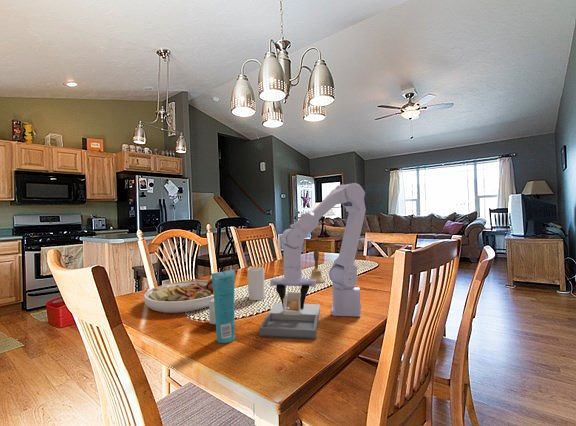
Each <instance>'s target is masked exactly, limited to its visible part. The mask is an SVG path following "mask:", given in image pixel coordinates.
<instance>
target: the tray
mask: <svg viewBox="0 0 576 426" xmlns="http://www.w3.org/2000/svg"><path fill="white" fill-rule="evenodd" d="M318 327H319V322H318V315H316V316H315V321H303V320H279V319H271V313H269V312H268V313H267V315H266V316H265V318H264V320H263V321H262V322H261V324H260V326H259V327H258V330H259V331H258V334H259V337H261V338H278V339H279V338H281V339H295V340H296V339H298V340H299V339H301V340H317V334H318Z"/></svg>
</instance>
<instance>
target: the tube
mask: <svg viewBox="0 0 576 426" xmlns="http://www.w3.org/2000/svg"><path fill="white" fill-rule="evenodd" d="M210 276H211V278H212V284H213V295H214V306H215V318H216V324H215V330H216V331H215V332H216V341H217V343H219V344H228V343H231V342H233V341H234V340H235V338H236V335H235V331H236V330H235V327H236V326H235V324H236V323H235V318H234V314H235V283H236V282H235V280H236V279H235V278H236V277H235V276H236V270H235V269H231V270H224V271H219V272H218V271H217V272H213V273H211V275H210Z"/></svg>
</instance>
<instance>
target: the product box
mask: <svg viewBox="0 0 576 426" xmlns="http://www.w3.org/2000/svg"><path fill="white" fill-rule="evenodd" d="M208 310H209V312H208V313H209V315H208V317H209V320H208V321H209V322H208V323H209V324H211V325H216V318H215V306H214V299H212V300H211V301H209V307H208ZM234 319H235V313H234Z"/></svg>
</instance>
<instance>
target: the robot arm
mask: <svg viewBox="0 0 576 426" xmlns="http://www.w3.org/2000/svg"><path fill="white" fill-rule="evenodd" d="M365 197H366V192H365V190H364V188H363V187H362V186H361V185H360V184H359V183H357V182H352V183H347V184H339V185H337V186H336V187H335V188H334V189H332V190H331V191H330V192H329V193H328V195H326V197H325V198H324V199H323V200H322V201H321V202H320V203H319V204H318V205H317V206H316V207H315V208H314V209H313V210H312V211H311V212H309V211H307V212H304V213H301V214H300V215H299V216H300V218H299V219H297V221H296V222H294V223H291V224H290V225H289V227H290V228H288V229H287V228H286V229H285V230H284V231H283V232H282V233H281V234H282V235H281V236H280V238H279V239H280V242H281V243H282V245H283V254H282V255H283V278H282V277H281V278H278V277H277V278H271V279H270V280H269V281H270V283H269V284H270V287H274V286H276V288H275V291H276V292H277V295H278V296H279V298H280V301H281V302H280V303H282V306H283V298H284V297H285V295H286V293H287V286H288V287H289V286H290V287H300V292H301V309H303V308H304V304H305V302H306V301H305V300H306V297H307V295H308V292H309V289H310V287H311V288H316V285H317V283H316V280H314V279H310V278H304V277H302V276H303V275H302V274H303V273H302V269H303V268H302V246H303V244H304V242H305V238H307V236H309V235H310V234H311V232H313V231H314V229H315V230H316V228H317V227H318V225H319V222H320V221H319V220H320V219H321V218H323V217H324V216H325V215H326V214H327V213H328V212H330V210H332V208H334V207H335V206H336V205H341V206H343V207H344V208H345V210H346V211H347V212H348V216H347V220H346V223H345V224H346V225H345V228H344V232H343V235H342V239H341V240H342V242H341V246H340V250H339V253H338V256H337V257H336V259H335V260H334V261H333V264H332V266H331V268H330V269H329V270H328V278H329V279H330V280H331V284H332V288H331V289H332V306H331V316H335V317H337V316H338V317H357V318H359V317H362V315H361V309H362V304H361V289H360V287H359V286H356V285H357V282H358V281H359V279H358V267H359V266H357V263H356V261H355V260H356V254H357V250H358V247H359V242H360V237H361V233H362V229H363V223H364V220H365V216H366V211H367V209H366V204H365V202H366V201H365Z"/></svg>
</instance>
